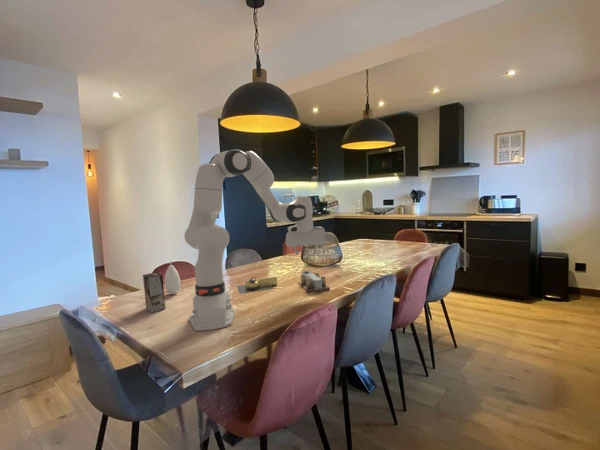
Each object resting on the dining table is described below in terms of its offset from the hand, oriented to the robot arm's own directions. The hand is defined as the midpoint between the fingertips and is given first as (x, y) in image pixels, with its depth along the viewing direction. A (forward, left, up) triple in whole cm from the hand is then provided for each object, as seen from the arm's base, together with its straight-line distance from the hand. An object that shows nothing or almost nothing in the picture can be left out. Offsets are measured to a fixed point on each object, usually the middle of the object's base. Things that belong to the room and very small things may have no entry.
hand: (305, 253), depth 168 cm
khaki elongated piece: (+12, +22, -17) cm, 30 cm away
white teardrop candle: (+24, +68, -19) cm, 74 cm away
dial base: (+12, +27, -18) cm, 35 cm away
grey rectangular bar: (+2, -3, -17) cm, 17 cm away
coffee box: (+2, +74, -19) cm, 76 cm away
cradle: (0, -3, -18) cm, 19 cm away
